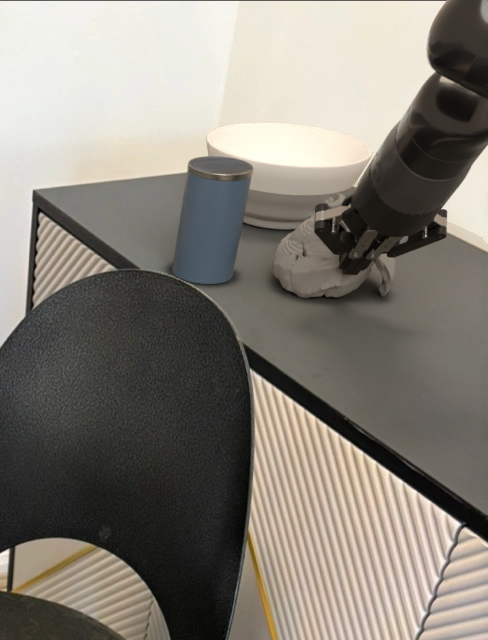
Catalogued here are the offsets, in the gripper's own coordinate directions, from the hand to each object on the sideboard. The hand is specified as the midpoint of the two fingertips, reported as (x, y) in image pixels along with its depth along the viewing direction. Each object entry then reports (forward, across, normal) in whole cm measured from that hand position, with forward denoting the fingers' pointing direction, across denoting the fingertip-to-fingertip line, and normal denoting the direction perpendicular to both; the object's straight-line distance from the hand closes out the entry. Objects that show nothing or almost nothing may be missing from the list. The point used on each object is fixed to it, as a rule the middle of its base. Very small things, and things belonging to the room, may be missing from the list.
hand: (349, 266), depth 113 cm
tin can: (+8, +14, -2) cm, 16 cm away
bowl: (+23, +2, -17) cm, 29 cm away
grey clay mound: (+6, 0, -1) cm, 6 cm away
